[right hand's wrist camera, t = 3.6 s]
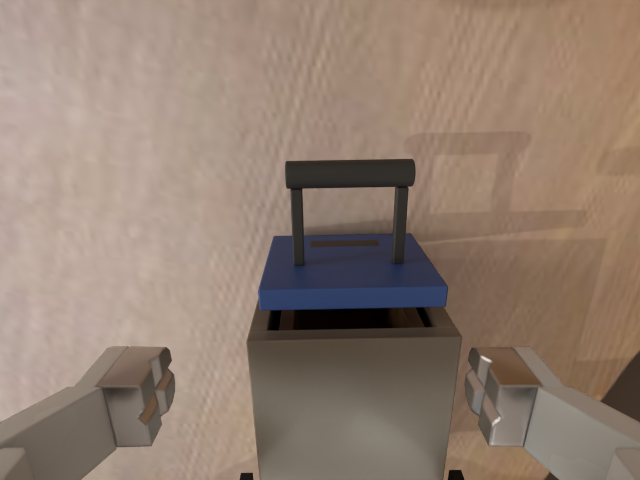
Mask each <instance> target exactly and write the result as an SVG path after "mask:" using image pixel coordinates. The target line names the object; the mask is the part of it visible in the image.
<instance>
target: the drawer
mask: <svg viewBox="0 0 640 480" xmlns="http://www.w3.org/2000/svg"><path fill="white" fill-rule="evenodd" d="M285 178H286V187H287V189H291V213H292V236H274V237H273V241H272V244H271V248H270V251H269V255H268V258H267V262H266V265H265V269H264V272H263V276H262V279H261V283H260V286H259V290H258V295H259V308H260V310H282V311H281V318H280V325H279V330H327V329H375V328H423V327H424V325H423V322H422V320H421V318H420V316H419V314H418V312H417V310H416V308H415V307H445V306H446V300H447V292H448V286H447V284H446V283H445V282H444V280H443V279H442V277H441V276H440V274H439V273H438V272H437V270H436V269H435V267H434V266H433V264H432V263H431V262H430V260H429V259H428V257H427V256H426V254H425V253H424V252H423V250H422V249H421V247H420V246H419V244H418V243H417V241H416V240H415V239H414V237H413V236H412V234H405V233H406V218H407V202H408V187H409V186H413V184H414V181H415V163H414V160H413V159H383V160H325V161H286V164H285ZM353 187H395V203H394V222H393V234H363V235H310V236H304V228H303V197H302V188H353Z"/></svg>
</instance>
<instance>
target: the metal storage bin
mask: <svg viewBox="0 0 640 480" xmlns="http://www.w3.org/2000/svg"><path fill="white" fill-rule="evenodd" d="M415 308H416V310H417V312H418V314H419V316H420V318H421V320H422V322H423V325H424V327H423V328H375V329H327V330H279V325H280V318H281V311H282V310H260V308H259V298H258V302H257V306H256V309H255V313H254V316H253V320H252V324H251V327H250V332H249V335H248V338H247V352H248V362H249V373H250V383H251V393H252V404H253V414H254V425H255V435H256V445H257V456H258V466H259V477H260V480H443V476H444V469H445V461H446V454H447V446H448V438H449V431H450V423H451V416H452V408H453V401H454V393H455V386H456V378H457V371H458V363H459V356H460V348H461V341H462V336H461V335H460V333H459V331H458V330H457V328H456V327H455V325H454V323H453V322H452V320H451V318H450V317H449V315H448V314H447V312H446V310H445V309H444V307H415Z"/></svg>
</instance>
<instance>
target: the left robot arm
mask: <svg viewBox="0 0 640 480" xmlns="http://www.w3.org/2000/svg"><path fill="white" fill-rule="evenodd" d="M240 480H253V473H241V476H240ZM448 480H464V477H463V474H462V472H461V470H449V476H448Z"/></svg>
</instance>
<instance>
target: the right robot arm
mask: <svg viewBox="0 0 640 480" xmlns="http://www.w3.org/2000/svg"><path fill="white" fill-rule="evenodd" d="M171 361H172V359H171V354H170V350H169V349H168V348H167V347H128V346H112V347H109V348H107V349H106V350H105V351H104V352H103V354H102V355H101V356H100V357H99V358H98V359H97V361H96V362H95V363H94V364H93V365H92V366H91V368H90V369H89V370H88V371H87V372H86V373H85V375H84V376H83V377H82V378H81V379H80V380H79V382H78V383H77V384H76V385H75V386H74V387H67V388H65V389H63V390H61V391H59V392H57V393H55V394H54V395H52V396H50V397H48V398H46V399H44V400H42V401H40V402H38V403H36V404H34V405H32V406H31V407H29V408H27V409H25V410H23V411H21V412H19V413H17V414H15V415H13V416H11V417H9V418H8V419H6V420H4V421H2V422H0V480H81V479H82V478H83V477H85V476H86V475H87V474H88V473H89V472H90V471H91V470H93V469H94V468H95V467H96V466H97V465H98V464H100V463H101V462H102V461H103V460H104V459H105V458H107V457H108V456H109V455H110V454H111V453H112V452H114V451H115V450H116V447H139V446H152V444H153V442H154V439H155V437H156V435H157V433H158V431H159V429H160V427H161V425H162V423H161V416H162V415H163V414H165V413H166V412H168V411H169V409H170V406H171V404H172V402H173V397H174V393H175V378H174V374H173V373H172V372H171V371H170V370H169V369H168V366H169V365H170V363H171ZM468 361H469V363H470V365H471V366H472V369H471V370H470V371H469V372H468V373H467V374H466V379H465V392H466V398H467V401H468V404H469V406H470V409H471V411H472V412H474V413H475V414H477V415H478V416H479V423H478V425H479V427H480V429H481V431H482V433H483V435H484V437H485V439H486V441H487V443H488V446H501V447H524V450H525V451H527V452H528V453H529V454H530V455H531V456H532V457H534V458H535V459H536V460H537V461H538V462H539V463H541V464H542V465H543V466H544V467H545V468H546V469H547V470H549V471H550V472H551V473H552V474H553V475H554V476H556V477H557V478H558V479H559V480H640V422H638V421H636V420H634V419H632V418H630V417H628V416H627V415H625V414H623V413H621V412H619V411H617V410H615V409H613V408H611V407H609V406H607V405H606V404H604V403H602V402H600V401H598V400H596V399H594V398H592V397H590V396H588V395H586V394H585V393H583V392H581V391H579V390H577V389H575V388H573V387H566V386H565V385H564V384H563V383H562V382H561V380H560V379H559V378H558V377H557V376H556V375H555V373H554V372H553V371H552V370H551V369H550V368H549V366H548V365H547V364H546V363H545V362H544V361H543V360H542V358H541V357H540V356H539V355H538V354H537V353H536V351H535V350H534V349H533V348H531V347H529V346H518V347H490V348H472V349H471V351H470V354H469V359H468Z"/></svg>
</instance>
